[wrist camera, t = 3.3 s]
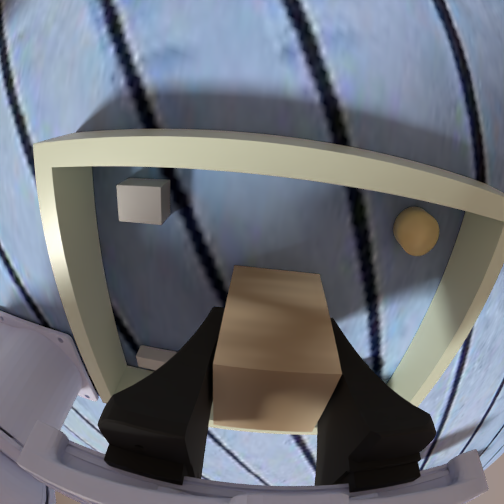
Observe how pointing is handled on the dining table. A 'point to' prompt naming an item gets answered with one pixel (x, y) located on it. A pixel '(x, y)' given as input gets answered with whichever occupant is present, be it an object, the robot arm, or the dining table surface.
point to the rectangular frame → (265, 163)
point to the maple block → (274, 352)
